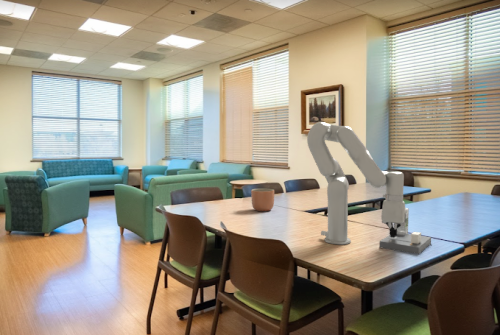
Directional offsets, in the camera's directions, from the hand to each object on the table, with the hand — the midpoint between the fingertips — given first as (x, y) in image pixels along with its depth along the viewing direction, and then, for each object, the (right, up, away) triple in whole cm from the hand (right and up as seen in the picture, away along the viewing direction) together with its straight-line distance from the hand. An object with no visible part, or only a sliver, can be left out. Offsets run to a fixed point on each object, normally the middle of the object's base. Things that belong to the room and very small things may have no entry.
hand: (393, 236), depth 169 cm
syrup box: (+12, -3, +19) cm, 23 cm away
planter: (-58, +1, +97) cm, 113 cm away
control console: (+6, -4, +1) cm, 8 cm away
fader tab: (+8, -1, -6) cm, 10 cm away
